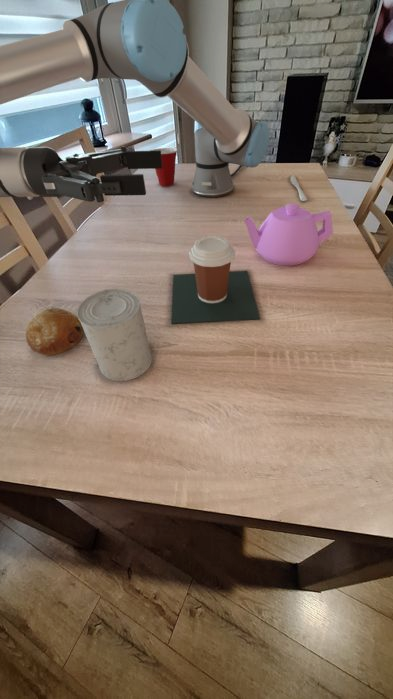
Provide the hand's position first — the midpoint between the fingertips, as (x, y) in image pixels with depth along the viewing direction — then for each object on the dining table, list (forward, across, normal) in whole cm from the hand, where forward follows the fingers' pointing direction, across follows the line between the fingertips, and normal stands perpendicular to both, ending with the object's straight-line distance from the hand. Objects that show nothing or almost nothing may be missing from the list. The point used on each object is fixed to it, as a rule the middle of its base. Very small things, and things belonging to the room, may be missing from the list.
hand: (153, 171), depth 50 cm
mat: (+10, 0, -25) cm, 27 cm away
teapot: (+27, -20, -25) cm, 42 cm away
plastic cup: (-14, -74, -25) cm, 80 cm away
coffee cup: (+10, 0, -25) cm, 27 cm away
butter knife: (+36, -68, -25) cm, 81 cm away
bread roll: (-20, +16, -25) cm, 35 cm away
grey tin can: (-4, +21, -25) cm, 33 cm away
